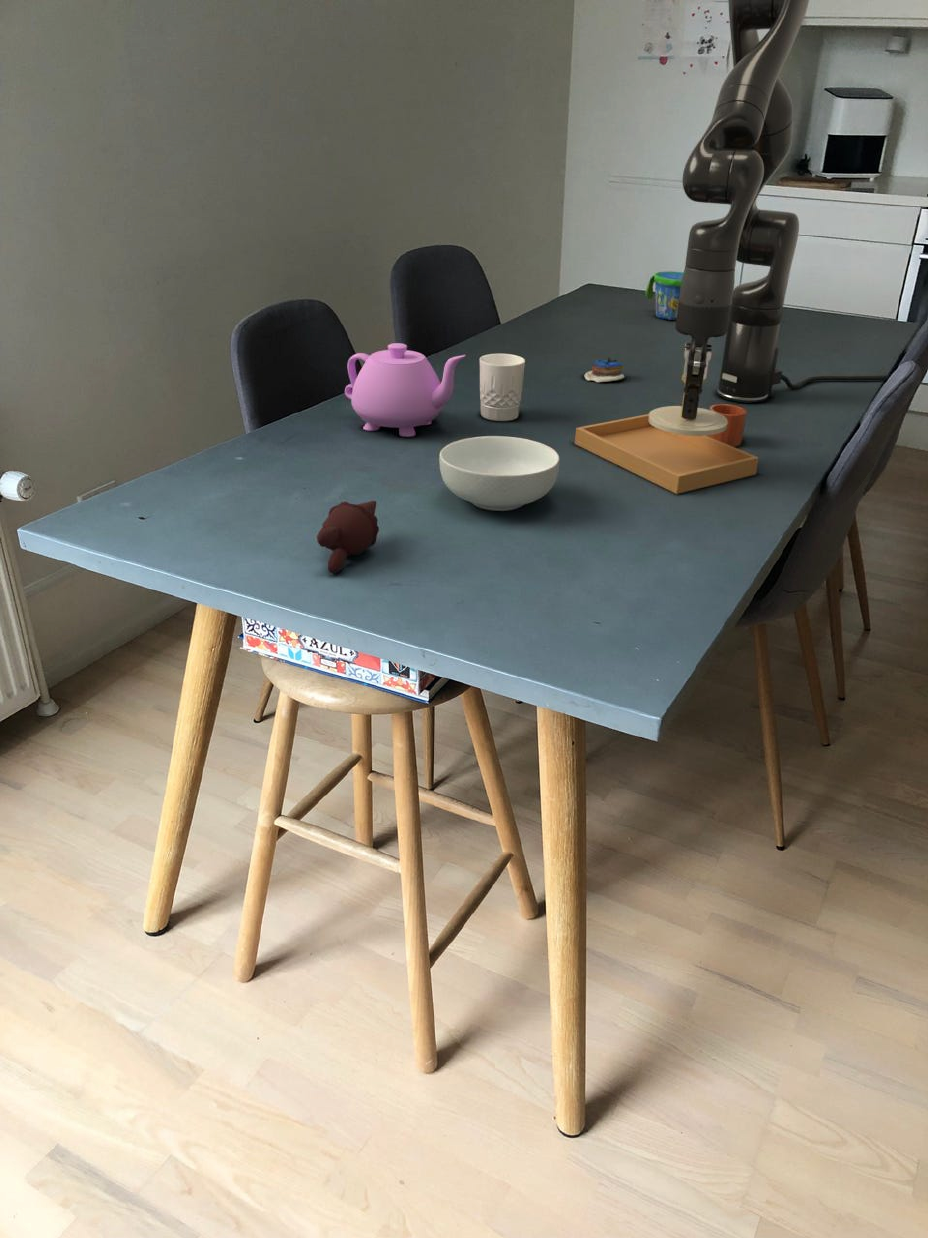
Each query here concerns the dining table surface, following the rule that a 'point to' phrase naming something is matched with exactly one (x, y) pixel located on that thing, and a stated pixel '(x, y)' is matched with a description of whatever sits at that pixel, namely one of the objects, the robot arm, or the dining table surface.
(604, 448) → the serving tray
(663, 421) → the round base post stand
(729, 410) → the terracotta cup
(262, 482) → the dining table surface
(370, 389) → the teapot
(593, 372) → the dessert
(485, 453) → the cereal bowl
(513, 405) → the white cup
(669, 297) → the snack cup
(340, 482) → the dining table surface
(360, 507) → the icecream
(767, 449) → the dining table surface
